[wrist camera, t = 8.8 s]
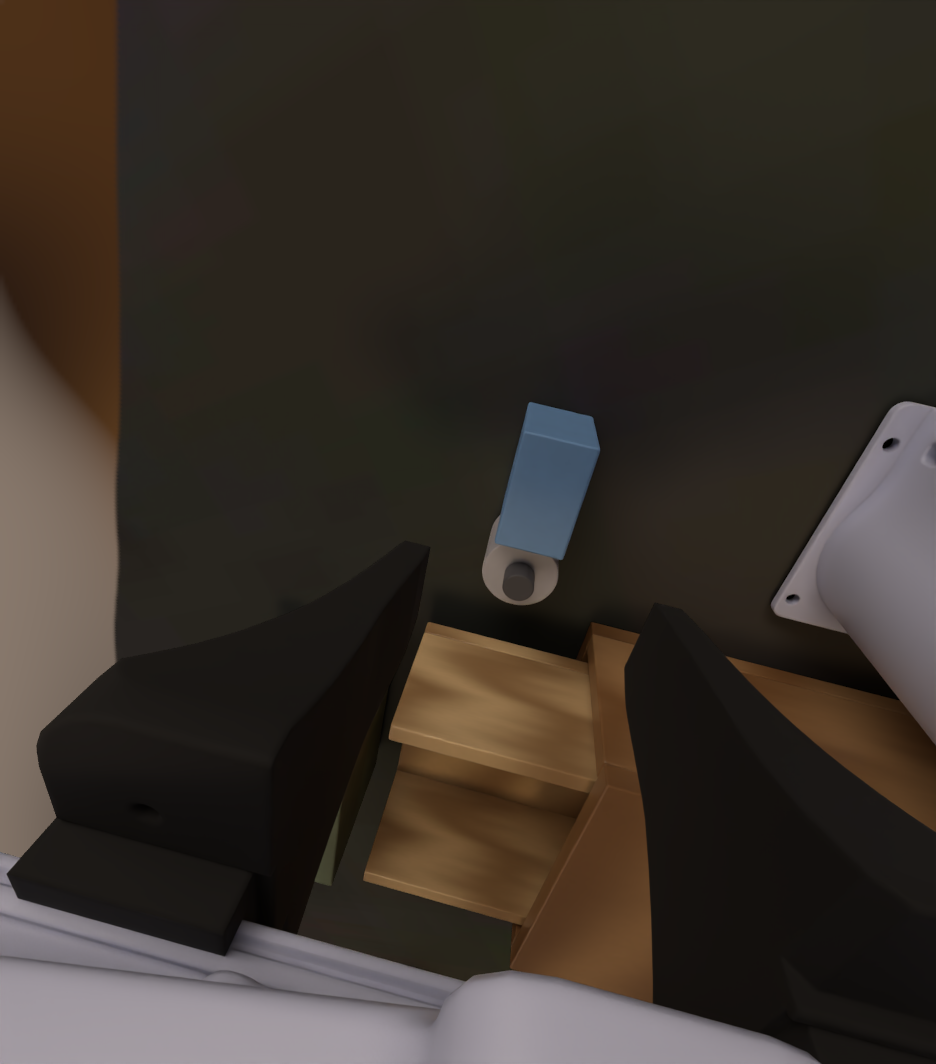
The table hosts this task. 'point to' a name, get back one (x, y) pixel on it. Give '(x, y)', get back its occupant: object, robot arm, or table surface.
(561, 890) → the cabinet
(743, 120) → the table surface
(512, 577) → the blue block on disc
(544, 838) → the drawer
